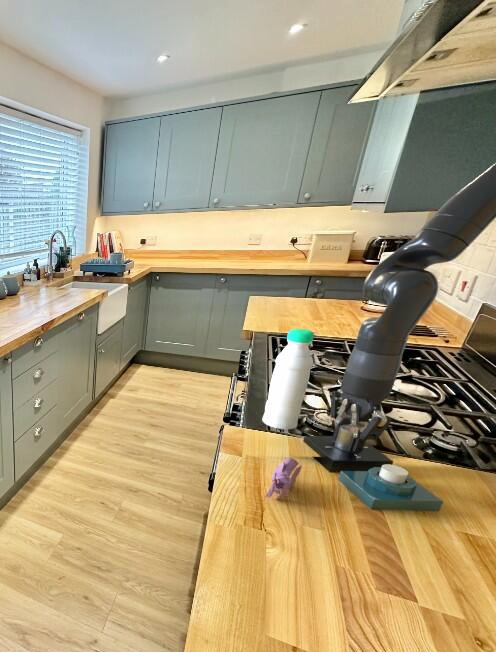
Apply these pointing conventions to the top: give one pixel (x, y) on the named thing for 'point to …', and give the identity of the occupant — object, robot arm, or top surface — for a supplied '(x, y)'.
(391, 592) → the top surface
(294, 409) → the white milk bottle
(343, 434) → the lock knob
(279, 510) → the top surface
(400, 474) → the white push button
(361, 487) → the button base
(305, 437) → the lock base
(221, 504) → the top surface
